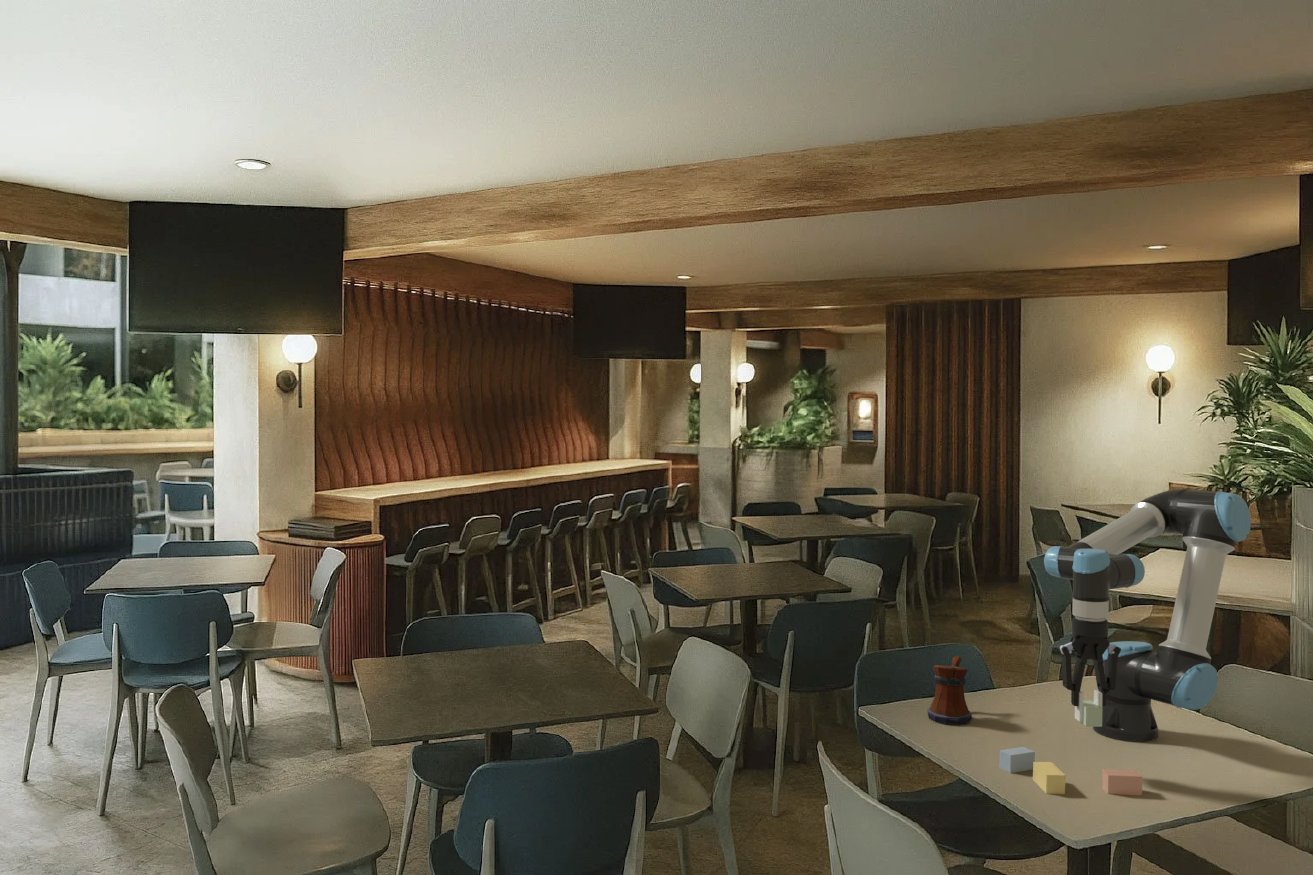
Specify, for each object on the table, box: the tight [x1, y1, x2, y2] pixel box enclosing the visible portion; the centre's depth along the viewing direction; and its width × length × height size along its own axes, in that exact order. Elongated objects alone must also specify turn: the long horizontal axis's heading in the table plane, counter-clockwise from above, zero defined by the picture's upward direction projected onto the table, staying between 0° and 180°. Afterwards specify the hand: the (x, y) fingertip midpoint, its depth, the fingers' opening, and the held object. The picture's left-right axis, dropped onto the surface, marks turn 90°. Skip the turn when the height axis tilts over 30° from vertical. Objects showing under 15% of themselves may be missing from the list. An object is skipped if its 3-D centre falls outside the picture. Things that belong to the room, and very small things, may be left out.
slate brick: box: [998, 746, 1036, 774], centre depth 230 cm, size 7×4×4 cm, turn 112°
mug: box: [926, 655, 973, 726], centre depth 269 cm, size 18×12×15 cm, turn 154°
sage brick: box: [1080, 699, 1102, 728], centre depth 227 cm, size 6×4×4 cm, turn 179°
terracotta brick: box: [1101, 768, 1143, 796], centre depth 217 cm, size 7×4×4 cm, turn 85°
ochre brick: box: [1032, 761, 1066, 795], centre depth 219 cm, size 8×4×4 cm, turn 179°
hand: (1088, 719), depth 227 cm, fingers closed on sage brick, 4 cm apart
